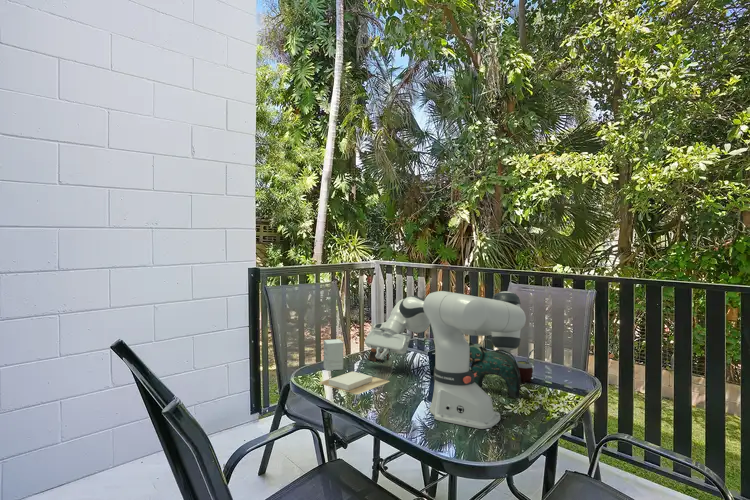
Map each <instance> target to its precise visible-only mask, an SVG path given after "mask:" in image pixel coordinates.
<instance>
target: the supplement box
mask: <svg viewBox="0 0 750 500" xmlns="http://www.w3.org/2000/svg"><path fill="white" fill-rule="evenodd" d="M323 369H324V371H327V372H328V371H339V370H344V342H343V341H342V340H341V339H340V338H337V339H335V338H334V339H324V340H323Z"/></svg>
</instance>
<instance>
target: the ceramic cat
mask: <svg viewBox="0 0 750 500" xmlns="http://www.w3.org/2000/svg"><path fill="white" fill-rule="evenodd" d="M485 341H489V342H490V343H491V344H492V341H491V339H490V338H484V339H483V341H482V344H481V343H473V342H471V341H470V342H468V344H469V347H470V361H471V366H470V370H471V372H472V373H473V374H474V373H477V374H476V375H477V376H476V375H475V376H476V377H474V382H475V383H476V384H477V385H478V386H479V387H480V388H481V389H482V388H483V387H484V386H483V385H484V384H483V380H484V377H486V375H493V376H498V377H500V378H502V379H503V380H504V381H505V384H506V386H507V389H508V395H509V397H511V398H514V399H518V398H519V396H520V392H521V384H522V382H521V377H520V372H519V368H518V365H517V363H516V362H517V360H516V358H515V356H514V355H513V354H512V353H511V352H509V351H504V350H500V349H494V350H489V349H487V348H486V346H485Z"/></svg>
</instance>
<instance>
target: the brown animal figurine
mask: <svg viewBox="0 0 750 500" xmlns="http://www.w3.org/2000/svg"><path fill="white" fill-rule="evenodd" d="M383 351H384V350H382V351H381V352H380V353H382V352H383ZM376 354H377V349H374V348H370V353H369V354H368V359H367V360H369V361H372V362H375V363H376V362H377V360H378V361H383V359H378V358H376V357H375V355H376ZM385 357H386V359H387V360H389V359H390V352H389V353H388V354H387V355H385Z"/></svg>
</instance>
